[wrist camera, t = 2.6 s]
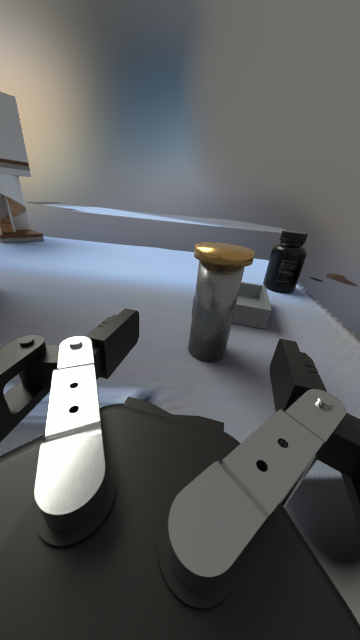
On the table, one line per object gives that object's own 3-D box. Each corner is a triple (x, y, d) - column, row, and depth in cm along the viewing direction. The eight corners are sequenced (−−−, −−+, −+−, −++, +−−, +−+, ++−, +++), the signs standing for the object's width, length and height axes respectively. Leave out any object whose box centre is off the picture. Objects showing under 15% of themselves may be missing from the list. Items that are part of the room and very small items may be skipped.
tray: (191, 314, 34) (194, 296, 33) (203, 291, 44) (205, 276, 43) (265, 329, 32) (271, 310, 31) (260, 301, 42) (265, 285, 41)
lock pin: (178, 358, 25) (189, 248, 19) (188, 333, 30) (200, 240, 24) (228, 370, 24) (256, 257, 18) (230, 342, 29) (253, 247, 23)
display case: (2, 243, 65) (-46, 76, 48) (-10, 237, 70) (-56, 85, 54) (43, 240, 73) (15, 96, 56) (30, 235, 78) (0, 103, 62)
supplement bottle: (298, 290, 50) (319, 234, 45) (285, 295, 46) (306, 235, 40) (270, 281, 55) (286, 229, 49) (256, 285, 50) (271, 229, 45)
